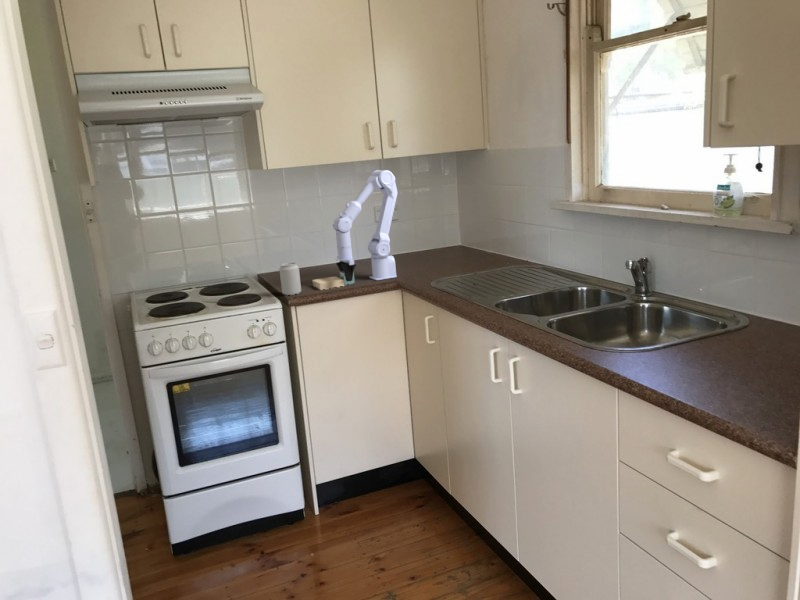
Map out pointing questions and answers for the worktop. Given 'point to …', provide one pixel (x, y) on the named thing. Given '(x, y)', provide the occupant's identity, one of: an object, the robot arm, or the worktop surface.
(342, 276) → the tin
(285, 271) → the can
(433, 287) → the worktop surface
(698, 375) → the worktop surface
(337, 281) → the beige square slab
